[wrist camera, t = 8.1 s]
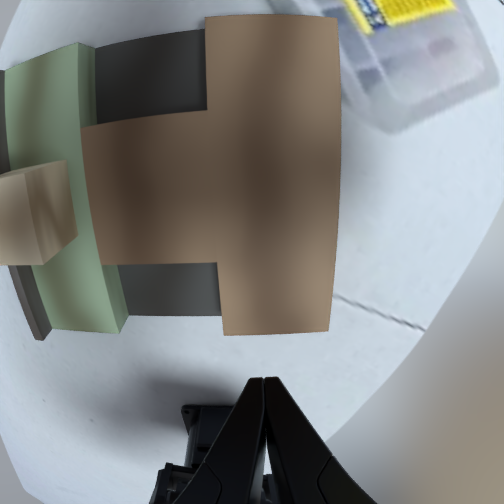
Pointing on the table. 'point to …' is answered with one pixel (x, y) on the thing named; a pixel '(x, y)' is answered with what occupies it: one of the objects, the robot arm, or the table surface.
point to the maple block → (35, 213)
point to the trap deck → (186, 175)
